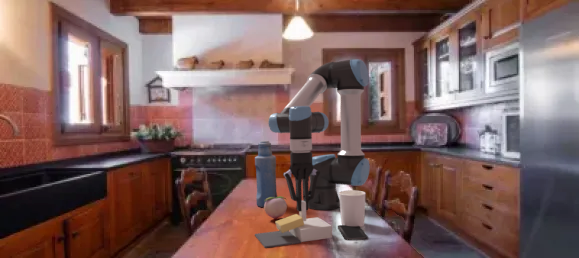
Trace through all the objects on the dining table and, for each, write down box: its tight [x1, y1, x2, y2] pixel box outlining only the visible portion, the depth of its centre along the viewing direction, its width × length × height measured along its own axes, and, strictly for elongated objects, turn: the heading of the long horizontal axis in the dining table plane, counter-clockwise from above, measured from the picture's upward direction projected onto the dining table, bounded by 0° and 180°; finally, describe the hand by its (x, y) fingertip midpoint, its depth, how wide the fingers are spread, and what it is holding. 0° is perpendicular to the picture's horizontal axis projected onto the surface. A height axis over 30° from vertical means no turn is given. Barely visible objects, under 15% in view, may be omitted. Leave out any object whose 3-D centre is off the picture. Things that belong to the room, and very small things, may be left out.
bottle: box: [254, 140, 278, 208], centre depth 179 cm, size 10×10×30 cm
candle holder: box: [338, 189, 366, 228], centre depth 143 cm, size 10×10×12 cm
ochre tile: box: [275, 213, 304, 233], centre depth 130 cm, size 8×6×2 cm
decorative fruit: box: [263, 194, 288, 220], centre depth 154 cm, size 9×8×10 cm
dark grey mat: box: [254, 230, 302, 249], centre depth 129 cm, size 12×14×1 cm
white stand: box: [289, 217, 333, 243], centre depth 133 cm, size 11×12×4 cm
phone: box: [337, 224, 369, 241], centre depth 133 cm, size 8×1×15 cm
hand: (302, 220), depth 132 cm, fingers closed
